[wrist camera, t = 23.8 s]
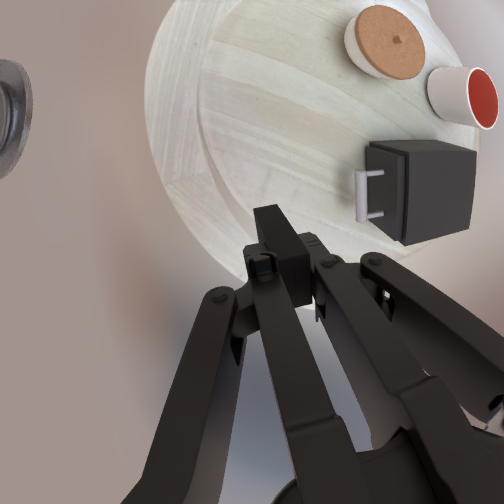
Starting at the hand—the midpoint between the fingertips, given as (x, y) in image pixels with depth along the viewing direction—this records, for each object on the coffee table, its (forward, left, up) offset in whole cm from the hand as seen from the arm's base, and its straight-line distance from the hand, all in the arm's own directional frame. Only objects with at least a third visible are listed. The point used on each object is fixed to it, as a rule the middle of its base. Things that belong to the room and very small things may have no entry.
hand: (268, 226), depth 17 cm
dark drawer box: (+27, -5, -20) cm, 34 cm away
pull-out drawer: (+23, -5, -19) cm, 31 cm away
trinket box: (+21, +16, -21) cm, 33 cm away
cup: (+37, +10, -21) cm, 44 cm away
